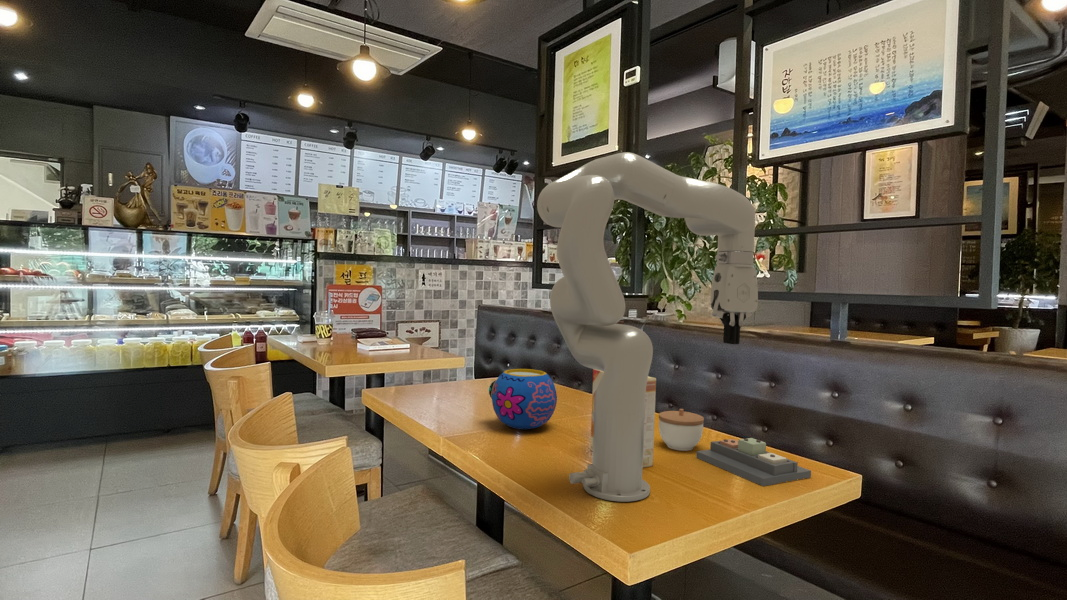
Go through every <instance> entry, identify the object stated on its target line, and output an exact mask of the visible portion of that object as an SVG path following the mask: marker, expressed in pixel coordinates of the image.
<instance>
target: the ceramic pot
mask: <svg viewBox="0 0 1067 600" xmlns="http://www.w3.org/2000/svg"><path fill="white" fill-rule="evenodd" d="M488 394H489V397H490V398H491V403H492V408H493V411H494V413H495V415H496V418H497V419H498V420H499V421H500V422H502V424H505V425H506V426H508V427H510V428H513V429H517V430H532V429H536V428H539V427H541V426H543V425H545V424H546V423H548V422H549V421H550V419H551V417H552V416H553V415H554V412H555V410H556V407H557V402H558V398H557V397H558V395H557V394H558V393H557V389H556V386H555V383H554V381H553V380H552V378H551V376H550V375H549V373H547V372H545V371H543V370H538V369H533V368H532V369H531V368H513V369H512V368H511V369H507V370H504V371H503V372H502V373H501V374H499V376H498V377H497V378H496V380H495V379H494V381H492V382H491V383H490V385H489V387H488Z"/></svg>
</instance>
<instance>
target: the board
mask: <svg viewBox="0 0 1067 600" xmlns="http://www.w3.org/2000/svg"><path fill="white" fill-rule="evenodd" d="M720 441H721V440H717V441H716V440H715V441H710V449H703V450H698V451H697V450H696V458H697V459H699V460H701V461H703V462H705V463H708V464H710V465H713V466H714V467H717V468H719V469H721V470H724V471H726V470H727V471H726V472H729V473H731V474H734V475H735V476H738V477H741V478H743V479H745V480H746V481H747V480H748V481H750V482H752V483H755V484H756V483H757V484H758V485H759V486H761V485H762V486H761V487H767V485H768V486H773V485H777V483H779V484H782V483H781V482H784V483H787V482H786V481H790V482H793V481H792V480H795V481H798V480H797V479H801V480H804V479H803V478H806V479H810V477H812V470H810V469H808V468H805V467H802V466H799V464H798V463H799V462H798V461H794V460H791V459H789V458H787V462H783V463H777V464H772V463H770V462H767V461H764V460H762V459H759V458H758V455H753V456H752V455H749V454H747V453H744V452H741V451H739V450H738V448H734V449H733V448H730V447H727V446H725V445H722V444H720ZM766 453H771V452H769V451H767V450H766Z"/></svg>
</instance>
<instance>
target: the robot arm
mask: <svg viewBox="0 0 1067 600" xmlns="http://www.w3.org/2000/svg"><path fill="white" fill-rule="evenodd" d="M615 200H622V201H626V202H627V203H630V204H632V205H635V206H638V207H640V208H642V209H644V210H646V211H648V212H651V213H652V214H655V215H658V216H659V217H667V218H673V219H684V221H685V225H686V227H687V229H688V230H689V231H690V232H692V233H693V234H695V235H697V236H700V237H701V236H702V237H709V236H711V237H712V236H717V253H716V255H715V256H714V259H715V260H716V266H715V267H714V271H713V275H712V282H711V288H710V289H711V290H710V308H711V309H712V314H711V315H712V316H713V317H714V318H718V319H719V320H720V322H721V325H722V326H723V342H722V343H723V344H729V345H740V339H741V327H742V326H743V325H744V321H745V320H746V319H748V318H750V317H753V313H754V312H756V311H757V310H758V305H759V286H758V276H757V269H756V267H754V252H755V233H756V232H755V231H756V209H755V207H754V206H753V204H752V203H751V201H750V200H749V199H748V198H747V197H746V196H745V195H744V194H742V193H740V192H738V191H737V190H735V189H733V188H731V187H728V186H725V185H723V184H721V183H715V182H711V181H706V180H700V179H697V178H692V177H687V176H681V175H678V174H676V173H674V172H672V171H671V170H668V169H667V168H666V169H665V168H664V167H662V166H661V165H658V164H657V163H655V162H654V161H653V162H652V161H651V160H649V159H647V158H645V157H643V156H641V155H639V154H636V153H634V152H629V151H627V152H625V151H624V152H617V153H614V154H611V155H606V156H604V157H599V158H595V159H594V160H591V161H589V162H587V163H585V164H584V165H582V166H580V167H577V168H576V169H574V170H572V171H571V172H569V173H567V174H565V175H563V176H562V177H559V178H558V179H556V180H554V181H552V182H550V183H548V184H547V185H546V186H545V187H544V188H542V190H541V191H540V192H539V195H538V197H537V203H536V206H537V207H536V208H537V213H538V215H539V217H540V218H541V220H542V221H543V222H544V223H545V224H547V225H548V226H551V227H554V228H560V232H559V234H558V238H557V244H556V245H557V246H556V256H557V262H558V264H559V268H560V270H561V273H562V275H563V277H561V278H559V279H558V280H557V281H556V282H555V283H554V285H552V286H553V287H552V289H551V291H550V297H549V306H550V311H551V313H552V316H553V318H554V321H555V323H556V325H557V327H558V330H559V332H560V333H561V335H562V337H563V340H564V341H565V344H566V346H567V348H568V350H569V352H570V354H571V355H572V357H573V358H574V359H575V361H577V363H579V364H580V365H581V366H583V367H586V368H589V369H592V370H593V369H596V370H601V371H603V372H604V373H603V376H602V378H601V380H600V382H599V384H598V387H597V389H596V393H595V402H594V408H595V409H594V434H593V451H592V460H591V461H592V462H591V463H588V464H587V465H586V469H584V470H583V471H582V472H581V471H579V472H571V473H569V476H568V480H569V482H570V484H572V485H574V484H580V483H582V486H583V489H584V490H585V491H586V492H587V493H588V494H589V495H590V496H593V497H596V498H598V499H601V500H606V501H610V502H621V503H622V502H623V503H625V502H627V503H629V502H635V501H636V502H637V501H640V500H644V499H646V498H647V497H648V496H649V495H650V494H651V486H650V484H649V483H648V482H647V481H646V480H645V479H643V468H644V467H643V445H644V421H645V396H646V385H647V379H648V376H649V373H650V369H651V367H652V366H651V365H652V361H653V357H654V356H653V353H654V347H653V343H652V340H651V338H650V337H649V335H648V334H647V333H646V332H645V331H644V330H642V329H640V328H639V327H636V326H634V325H629V324H625V325H623V324H615V323H617V322H618V321H622V319H623V317H624V315H625V313H626V301H625V297H624V294H623V292H622V289H621V286H620V284H619V282H618V280H617V276H616V275H615V273H614V270H613V268H612V265H611V264H610V260H609V257H608V254H607V253H606V250H605V246H604V245H605V244H604V243H605V242H604V238H605V236H604V235H605V231H606V230H605V229H606V227H607V223H608V221H609V218H610V216H611V214H612V212H613V210H614V206H615Z"/></svg>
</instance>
